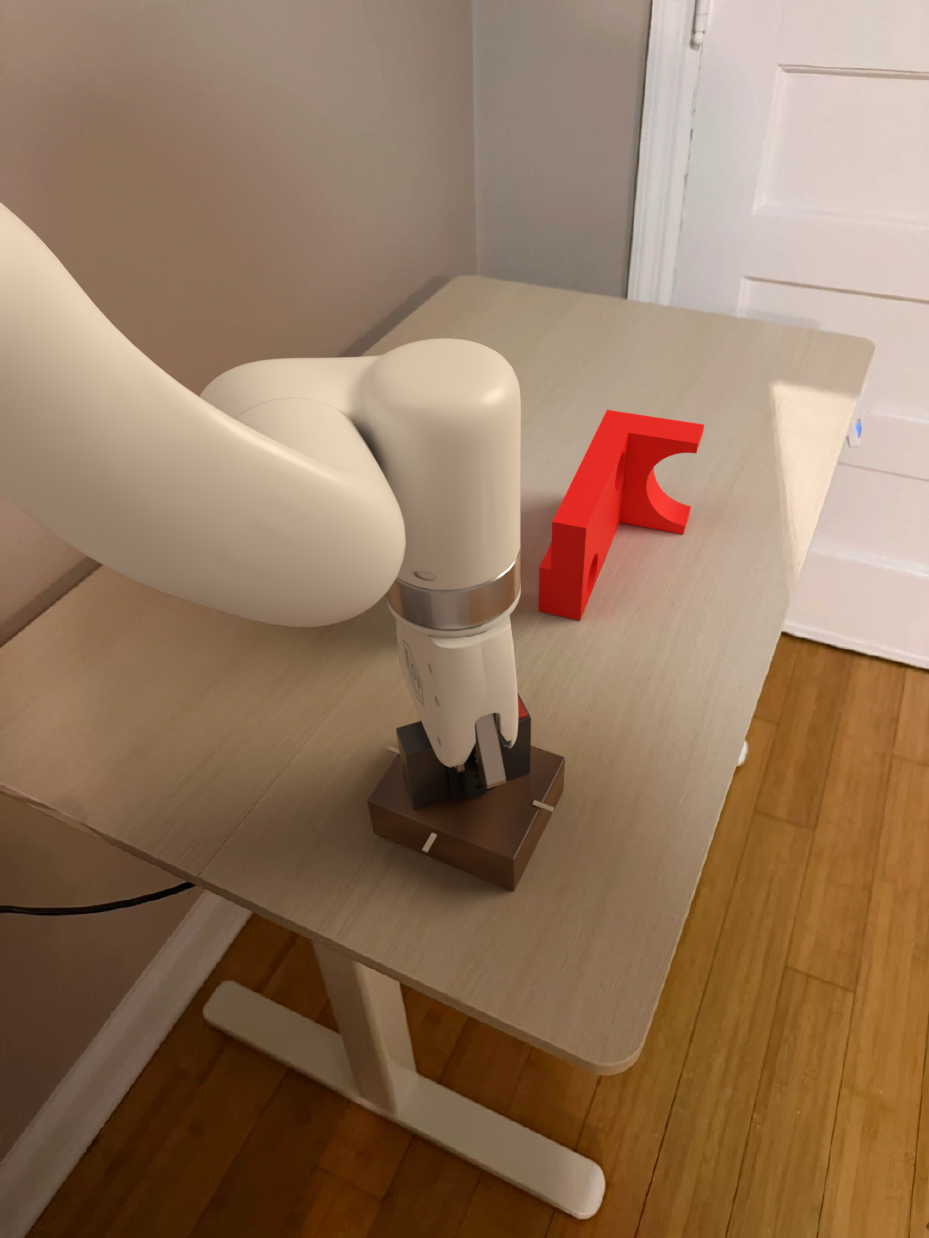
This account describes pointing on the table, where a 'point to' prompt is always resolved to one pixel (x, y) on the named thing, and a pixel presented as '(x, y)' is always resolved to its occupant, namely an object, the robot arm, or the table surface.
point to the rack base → (474, 820)
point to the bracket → (611, 503)
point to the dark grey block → (431, 776)
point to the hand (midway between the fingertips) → (465, 772)
